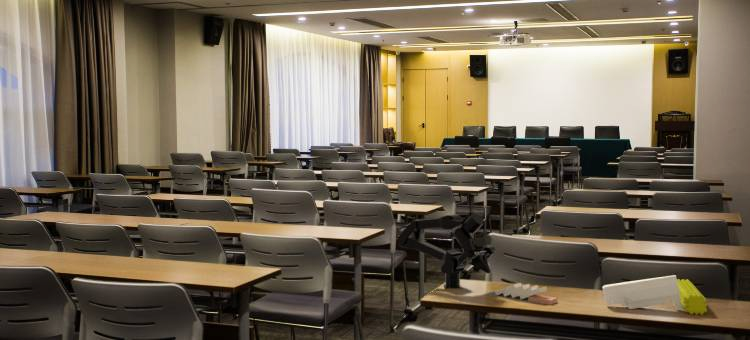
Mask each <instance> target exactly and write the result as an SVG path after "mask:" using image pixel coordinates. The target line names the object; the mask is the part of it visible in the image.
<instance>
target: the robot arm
mask: <svg viewBox="0 0 750 340" xmlns="http://www.w3.org/2000/svg"><path fill="white" fill-rule="evenodd" d="M484 224H485V221H484V219H483V217H482V216H480V215H479V214H477V213H475V211H470V212H469V213H468V214H467V216H466V217H462V216H461V215H460V214H458V213H455V214H447V215H444V216H440V217H438V218H430V219H429V218H427V219H413V220H412V221H410V223H409V224H408V225H407V226H406V228H404V229H403V230H402V231H401V233H400V234H399V235H398V236H397V243H398V246H399V247H401V248H403V249H411V250H416V251H418V252H421V253H423V254H425V255H428V256H430V257H431V258H434V259H436V260H438V261H440V262H441V263H442V265H441V266H440V270H441V274H445V281H444V282H445V284H443V287H444V289H446V290H447V289H461V288H462V286H461V279H460V277H461V272H464V270H465V267H466V266H467V264H468V260H470V263H469V265H471V266H472V267H475V268H477V269H479V270H481V271H482V272H484V273H485V274H490V273H491V269H490V266H489V262H488V259H490V257H492V256H493V254H494V253H495V252H497V250H496V249H495V247H494V246H491V244H492V239H493V238H492V237H491V236H490V235H489V233H487V234H485V235H483V236H480V237H473V235H472V234H475V233H476V232H477V231H478V230H479V229H480V228H481V227H482V226H483V225H484ZM435 228H437V229H442V230H449V231H450V230H454V231H450V235H449V240H453V239H456V241H457V242H458V244H459V245H460V247H459V249H460V250H461V251H459V250H457V249H448V250H445V249H443V248H440V247H438V246H436V245H434V244H431V243H429V242H427V241H425V240H422V238H421V237H420V236H421V234H422V230H423V229H435ZM487 245H489V246H487ZM462 251H463V252H462Z"/></svg>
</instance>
